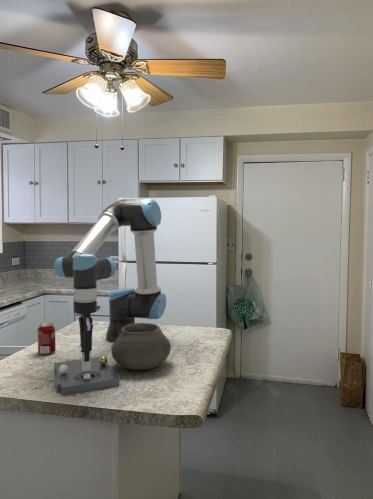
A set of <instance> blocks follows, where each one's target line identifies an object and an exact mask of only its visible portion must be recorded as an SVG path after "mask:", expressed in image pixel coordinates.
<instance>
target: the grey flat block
mask: <svg viewBox="0 0 373 499" xmlns="http://www.w3.org/2000/svg"><path fill="white" fill-rule="evenodd" d="M100 357H101V356H95V357H91V370H86V371H82V358H81V359H74V360H67V361H61V362H60V361H59V362H53V363H54V364H53V368H54V369H53V370H54V373H55V380H54V383H55V388H56V393H60V395H61V397H62V396H69V395H74V394H80V393H87V392H90V391H91V392H93V391H96V390H97V391H98V390H103V389H107V388H108V389H110V388H114V387H119V386H120V382H121V381H120V378H121V376H120V373H119V372H118V370H117V369H116V368H112V366H111V365H110V364H109V363H108V361H107V363H106V364H105V365H101V364H100V363H99V358H100ZM64 364H65V365H67V366H68V371H67V372H66V373H65V374H62V373H60V372H59V367H60V366H61V365H64ZM87 373H88V374H91V376H92V378H91V379H82V377H83V375H84V374H87Z"/></svg>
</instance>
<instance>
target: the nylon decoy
mask: <svg viewBox="0 0 373 499" xmlns="http://www.w3.org/2000/svg"><path fill="white" fill-rule="evenodd" d="M67 371H68V366H67V365H65V364H64V365H61V366H60V367H59V372H60V373H62V374H65V373H66V372H67Z"/></svg>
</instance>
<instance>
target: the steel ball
mask: <svg viewBox="0 0 373 499" xmlns="http://www.w3.org/2000/svg"><path fill="white" fill-rule="evenodd" d="M91 378H92V376H91V374H88V373H87V374H84V375H83V377H82V379H91Z"/></svg>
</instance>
